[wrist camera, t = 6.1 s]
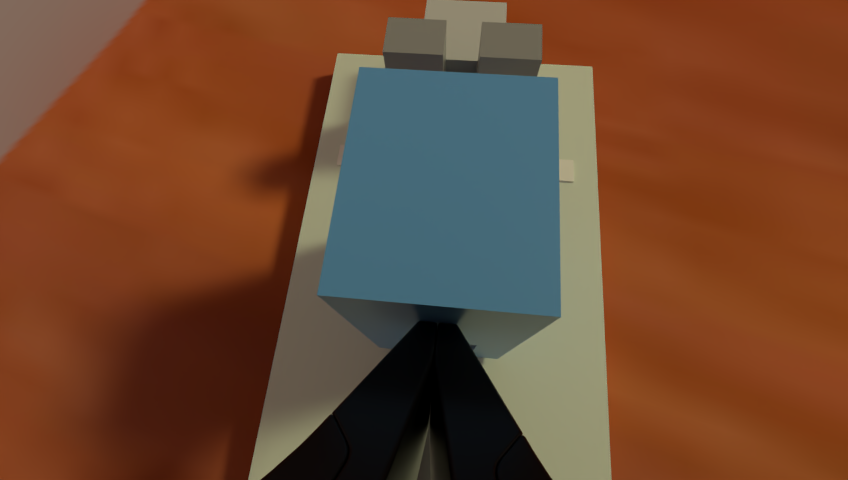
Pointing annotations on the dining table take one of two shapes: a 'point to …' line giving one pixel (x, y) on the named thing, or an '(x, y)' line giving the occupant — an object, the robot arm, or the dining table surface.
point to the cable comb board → (510, 374)
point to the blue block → (448, 208)
